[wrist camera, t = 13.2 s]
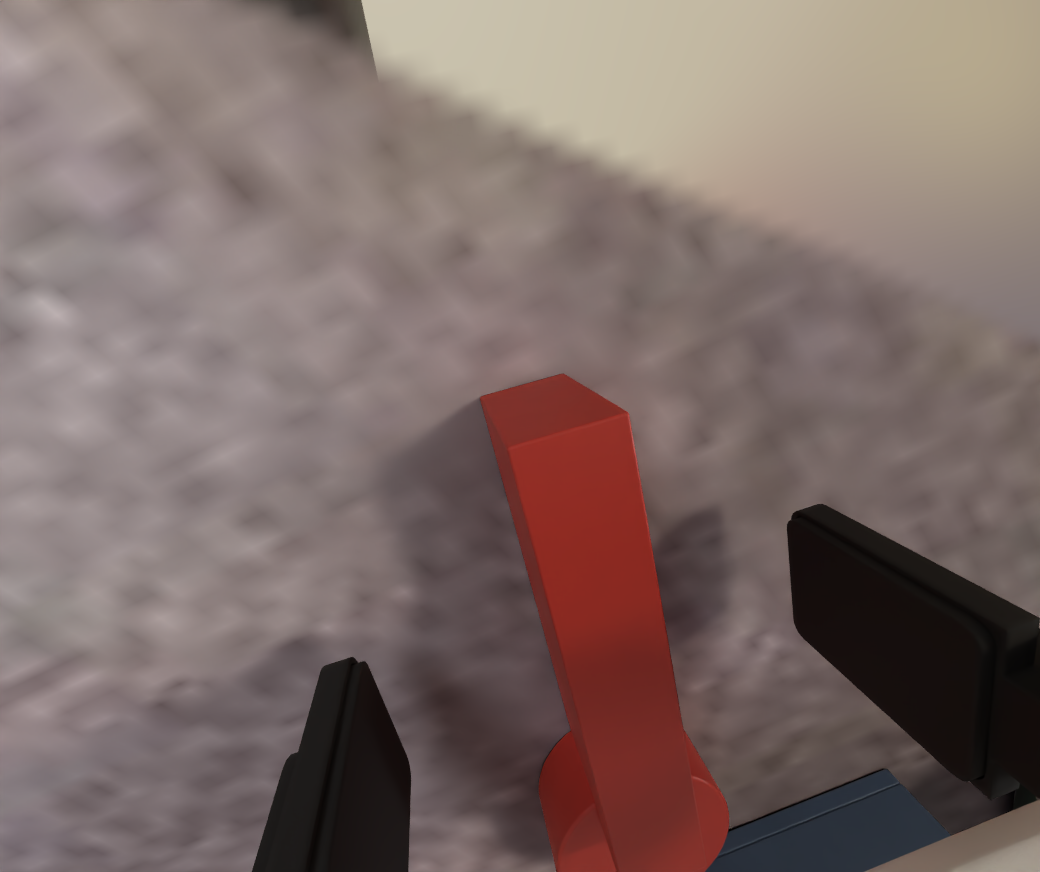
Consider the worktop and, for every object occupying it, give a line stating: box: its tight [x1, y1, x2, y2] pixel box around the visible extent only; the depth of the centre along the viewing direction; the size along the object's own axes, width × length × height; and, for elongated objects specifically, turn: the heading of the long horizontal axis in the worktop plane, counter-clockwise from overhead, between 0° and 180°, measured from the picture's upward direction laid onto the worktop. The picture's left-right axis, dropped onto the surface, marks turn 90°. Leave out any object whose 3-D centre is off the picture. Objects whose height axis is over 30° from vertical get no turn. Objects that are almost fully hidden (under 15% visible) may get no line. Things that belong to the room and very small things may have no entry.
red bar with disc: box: [480, 374, 729, 872], centre depth 10 cm, size 13×4×3 cm, turn 13°
